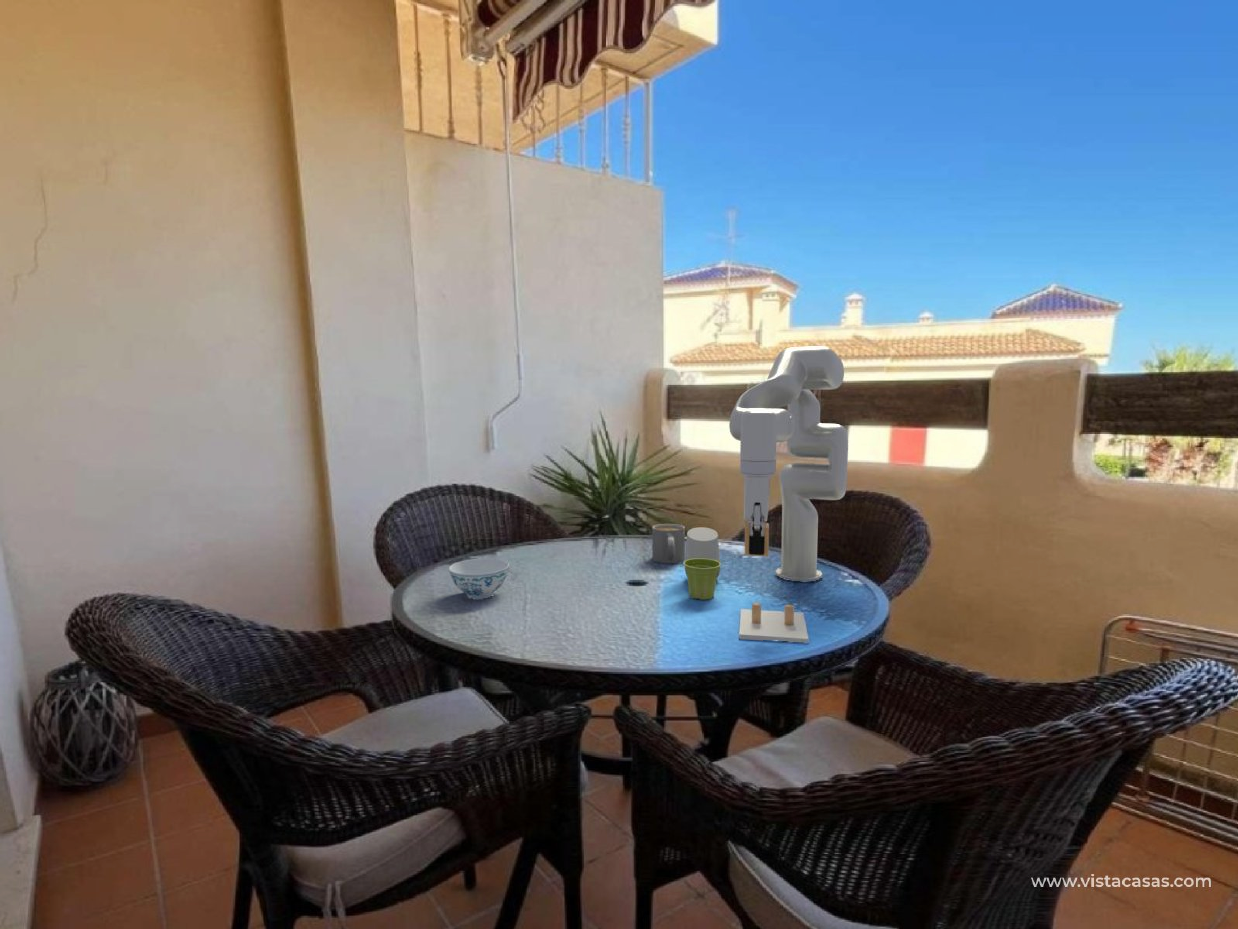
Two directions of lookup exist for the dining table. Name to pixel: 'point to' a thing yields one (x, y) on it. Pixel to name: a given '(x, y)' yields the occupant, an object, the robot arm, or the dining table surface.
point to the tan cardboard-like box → (747, 534)
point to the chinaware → (479, 576)
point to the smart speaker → (702, 544)
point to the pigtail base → (772, 624)
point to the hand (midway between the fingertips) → (756, 550)
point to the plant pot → (701, 577)
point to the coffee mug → (668, 543)
